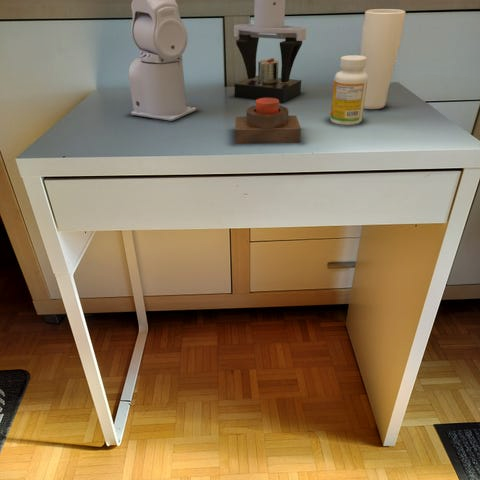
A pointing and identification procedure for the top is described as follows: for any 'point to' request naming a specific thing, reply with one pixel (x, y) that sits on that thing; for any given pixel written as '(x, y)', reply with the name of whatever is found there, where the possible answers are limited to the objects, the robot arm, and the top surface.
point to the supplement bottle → (349, 91)
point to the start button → (267, 105)
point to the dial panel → (267, 89)
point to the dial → (268, 71)
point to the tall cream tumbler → (380, 52)
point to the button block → (267, 127)
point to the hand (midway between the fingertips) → (268, 80)
